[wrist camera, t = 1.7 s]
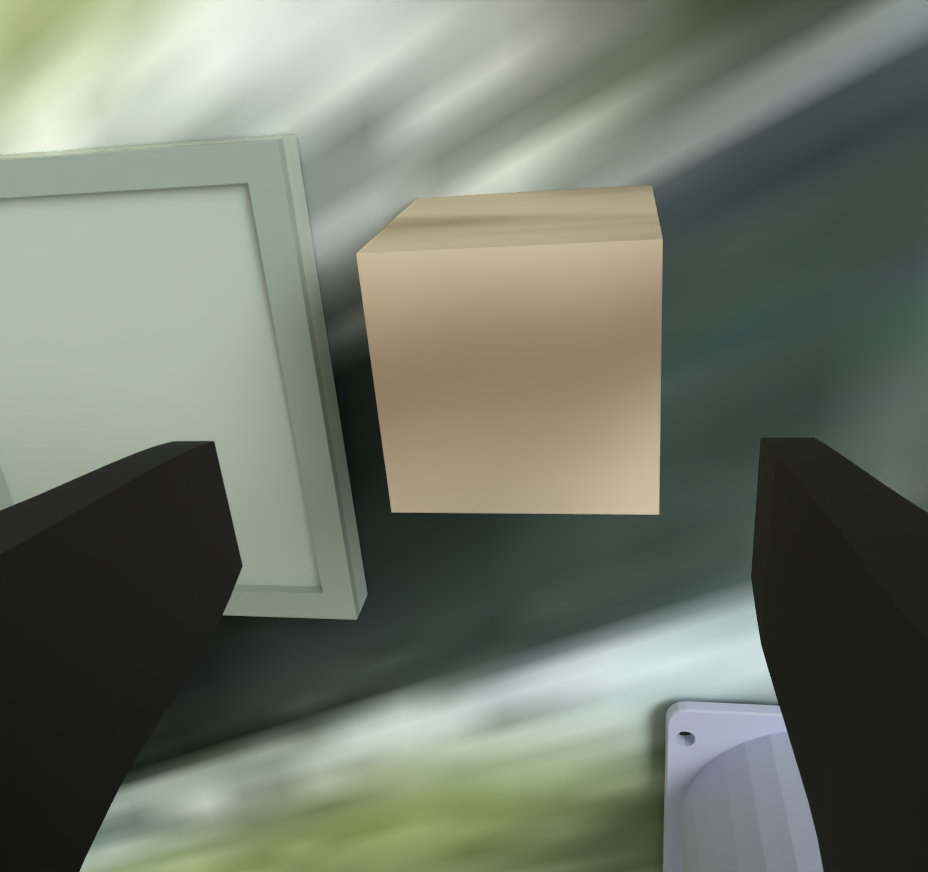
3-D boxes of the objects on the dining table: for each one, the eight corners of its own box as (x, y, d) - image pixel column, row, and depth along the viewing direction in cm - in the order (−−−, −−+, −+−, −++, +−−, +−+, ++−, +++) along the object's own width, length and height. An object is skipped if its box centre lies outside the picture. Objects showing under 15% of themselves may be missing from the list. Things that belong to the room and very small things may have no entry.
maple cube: (649, 404, 20) (658, 514, 16) (438, 407, 21) (391, 512, 17) (651, 183, 18) (662, 239, 14) (417, 197, 19) (356, 253, 14)
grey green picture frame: (367, 594, 24) (356, 619, 23) (39, 585, 25) (16, 608, 24) (295, 133, 19) (277, 140, 18) (-108, 162, 20) (-145, 169, 19)
